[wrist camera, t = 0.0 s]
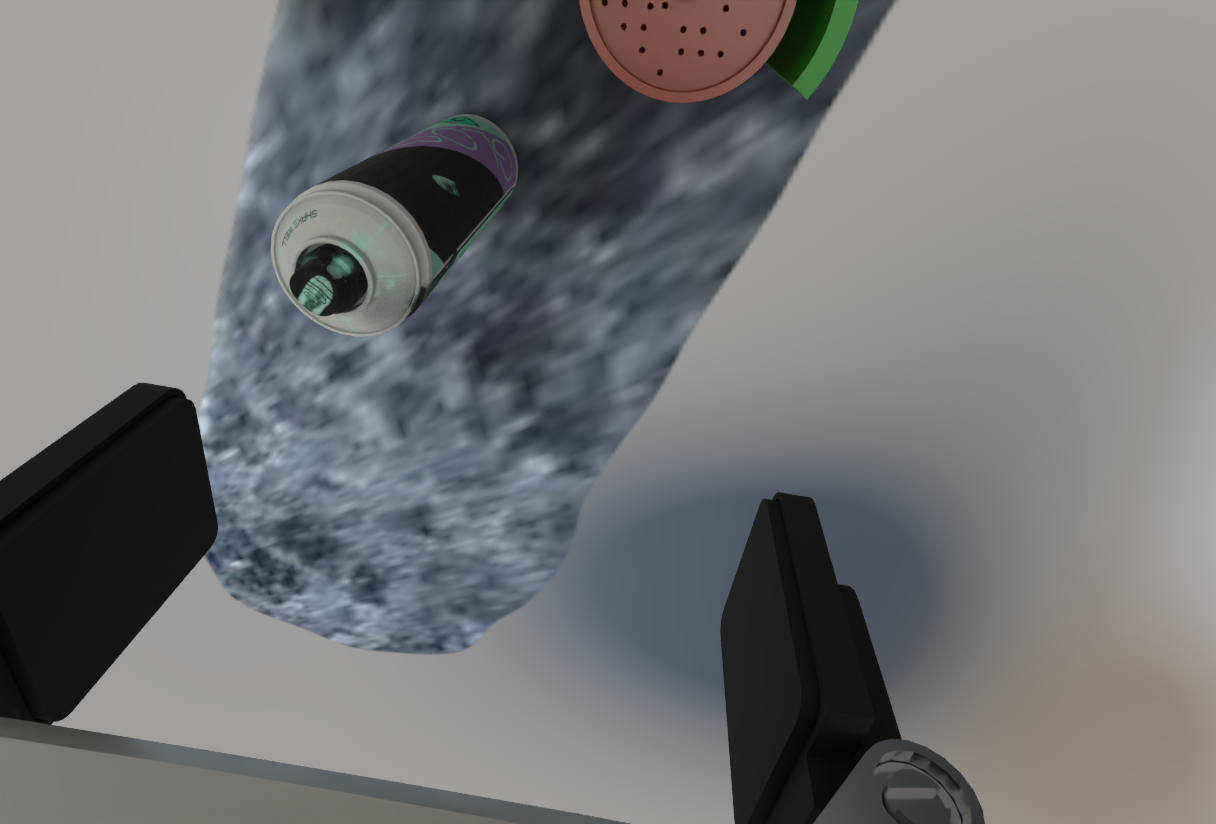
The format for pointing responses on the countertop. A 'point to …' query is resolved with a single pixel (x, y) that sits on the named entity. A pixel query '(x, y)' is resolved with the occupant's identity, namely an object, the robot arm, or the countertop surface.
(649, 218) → the countertop surface
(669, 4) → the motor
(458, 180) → the spray can
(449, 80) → the countertop surface
